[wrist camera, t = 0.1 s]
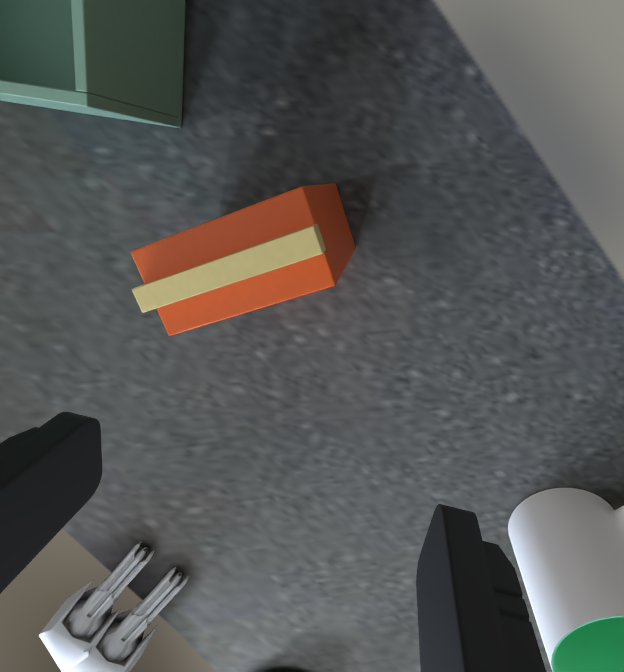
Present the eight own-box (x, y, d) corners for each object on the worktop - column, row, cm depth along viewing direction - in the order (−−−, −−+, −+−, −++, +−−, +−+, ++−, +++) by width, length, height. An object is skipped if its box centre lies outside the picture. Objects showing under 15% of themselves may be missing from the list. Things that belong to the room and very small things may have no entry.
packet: (215, 227, 31) (114, 255, 20) (336, 181, 28) (299, 185, 17) (239, 286, 32) (156, 344, 21) (357, 247, 29) (335, 290, 18)
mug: (598, 434, 31) (690, 550, 21) (688, 493, 31) (818, 633, 22) (486, 532, 36) (521, 664, 26) (565, 583, 36) (628, 731, 26)
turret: (212, 568, 46) (197, 606, 41) (113, 673, 50) (90, 718, 46) (136, 513, 45) (112, 545, 40) (43, 625, 50) (12, 665, 45)
